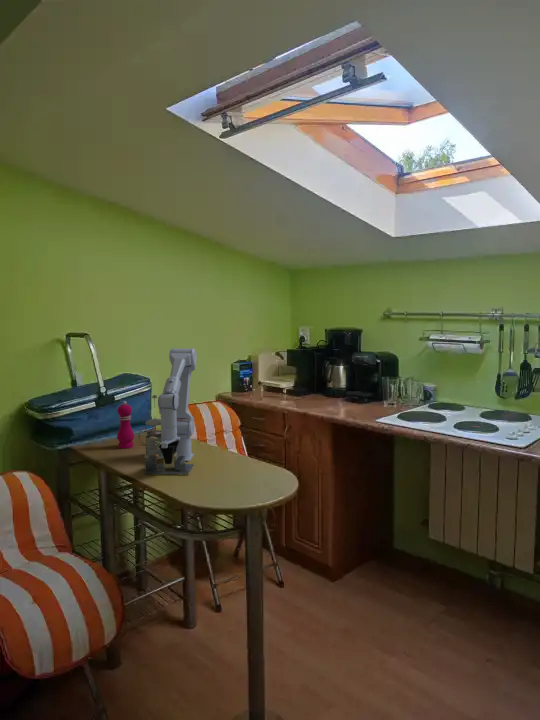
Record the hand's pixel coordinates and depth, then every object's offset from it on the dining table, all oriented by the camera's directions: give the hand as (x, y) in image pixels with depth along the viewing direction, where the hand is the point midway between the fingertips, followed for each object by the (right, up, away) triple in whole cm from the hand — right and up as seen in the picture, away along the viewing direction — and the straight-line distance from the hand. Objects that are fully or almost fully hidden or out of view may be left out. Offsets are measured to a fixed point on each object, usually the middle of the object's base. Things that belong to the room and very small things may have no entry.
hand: (169, 462), depth 197 cm
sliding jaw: (-7, -2, +3) cm, 8 cm away
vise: (0, -3, 0) cm, 3 cm away
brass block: (0, -2, 0) cm, 2 cm away
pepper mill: (-25, 0, +33) cm, 41 cm away
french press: (-10, -1, +19) cm, 21 cm away
